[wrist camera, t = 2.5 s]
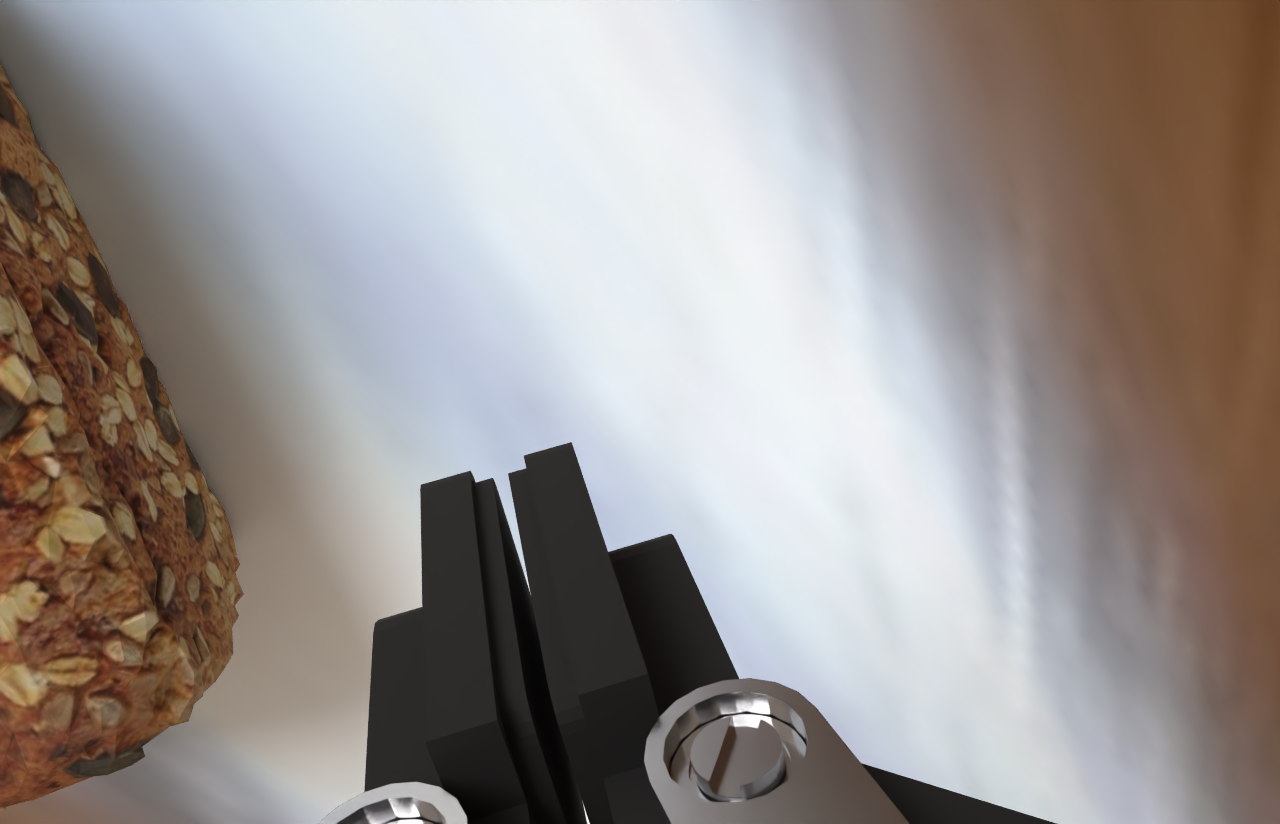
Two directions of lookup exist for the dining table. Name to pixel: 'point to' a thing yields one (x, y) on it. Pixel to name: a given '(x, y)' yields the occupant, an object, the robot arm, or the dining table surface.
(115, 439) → the bread
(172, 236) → the dining table surface
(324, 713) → the dining table surface
